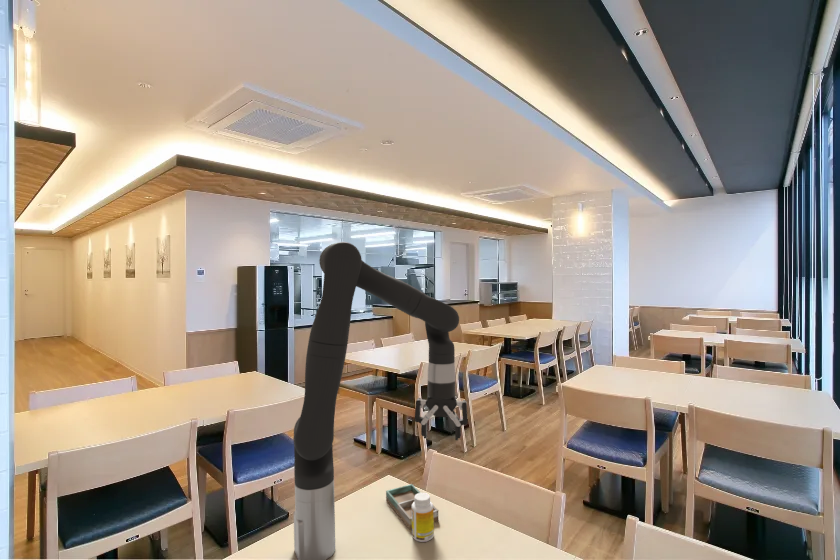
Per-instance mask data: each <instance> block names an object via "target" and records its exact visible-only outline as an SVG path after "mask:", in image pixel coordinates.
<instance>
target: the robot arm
mask: <svg viewBox="0 0 840 560" xmlns="http://www.w3.org/2000/svg"><path fill="white" fill-rule="evenodd" d="M318 262H319V263H318V264H319V267H320V269H321V271H322V273H323V286H322V295H321V299H320V303H319V306H318V309H317V312H316V314H315V316H314V319H313V322H312V325H311V329H310V332H309V338H308V343H307V349H306V350H307V351H306V357H305V370H304V371H305V372H304V397H303V404H302V409H301V412H300V416H299V417H298V419H297V420H296V422H295V424H294V427H293V440H292V441H293V451H294V452H293V454H294V457H293V459H294V460H293V461H294V462H293V464H294V469H293V471H294V473H293V474H294V503H295V504H294V505H295V507H294V509H295V510H294V511H293V534H294V535H293V537H294V538H293V539H294V541H293V542H294V543H293V545H294V546H293V547H294V549H293V550H294V553H295V556H296V559H297V560H328V559H329V558H331V557H332V556H333V554H334V553H335V552H336V514H335V513H336V511H335V469H334V468H335V467H334V466H335V465H334V453H333V450H334V449H333V448H334V447H333V446H334V445H333V442H334V439H335V438H334V437H335V433H334V432H335V413H336V404H337V397H338V392H339V388H340V384H341V380H342V376H343V371H344V367H345V362H346V357H347V349H348V345H349V334H350V327H351V318H352V305H353V300H354V296H355V293H356V288H359V289H361V290H363V291H365V292H367V293H369V294H371V295H373V296H375V297H376V298H379V299H380V300H382V301H383V302H385V303H386V304H388V305H390V306H392V307H393V308H396V309H397V310H399V311H401V312H403V313H404V314H406V315H408V316H410V317H413V318H415V319H418V320H421V321H423V322H424V323H425V324H424V327H425V331H426V338H427V343H428V366H427V397H426V399H422V398H421V397H417V398H416V401H415V405H414V406H415V410H414V422H415V423H419V424H420V429H421V431H420V432H421V433H420V434H421V437H423V439H427V437H428V422H429V420H430V419H431V418H432V416H434V417H435V418H440V417H442V418H448V417H449V418H450V420H452V422H453V423H454V425H455V429H454V431H455V432H454V433H455V437H454V439H455V441H459V439H460V438H461V437H462V436H461V435H462V433H461V432H462V430H461V429H462V426H467V424H468V416H469V415H468V402H467V400H465V399H463V400H460V401H459V400H457V398H456V379H457V378H456V377H457V376H456V366H455V358H456V357H455V351H456V349H455V343H454V342H453V341H452V340H451V338H450V333H449V332H453V331H454V330H456V329H457V328H458V326H459V323H460V316H459V313H458V311H457V310H456V309H455V308H454V307H453V306H451V305H449V304H447V303H446V302H443V301H440V300H438V299H437V298H434V297H431V296H429V295H427V294H426V293H424V292H423V291H421V290H420V289H418V288H416V287H414V286H412V285H410V284H409V283H407V282H405V281H403V280H401V279H398V278H396V277H394V276H391V275H388V274H387V273H384V272H383V271H380V270H378V269H376V268H374V267H373V266H371V265H369V264H367V263H366V262H365V261H363V260H362V255H361V253H360V250H359V249H358V248H357V247H356V246H355V245H354V244H353V243H350V242H347V241H340V242H335V243H332V244H329V245H328V246H327V247H325V248H324V249H323V250H322V251H321V253H320V256H319V260H318ZM424 405H425V406H426V408H427V409H428V411H427V412H426V414H425V415H424V416H421V411H422V409H423V408H424ZM456 407H458V408H459V410H461V412H462V418H459V416H458V414H457V413H456V411H455V409H456Z"/></svg>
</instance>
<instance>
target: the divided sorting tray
mask: <svg viewBox="0 0 840 560" xmlns="http://www.w3.org/2000/svg"><path fill="white" fill-rule="evenodd" d="M415 487H416V486H415V485H414V484H413V483H410V484H407V485H403V486H399V487H395V488H392V489H388V490H385V496H386V497H385V499H386V500H385V501H386V502H387V503H388V505H390V507H391V509H393V511H394V512H395V513H396V514H397V516H398V517H399V518H400V520H402V522H403V523H404V525H406V527H407V528H408V529H409V531H410V530H411V531H412V503H413V502H414V500H415V498H414V497H415V495H416V494H418V493H421V491H420V490H418V488H417V487H416V488H415ZM433 517H434V523H436V522H439V520H440V519H439V510H438V508H437V507H435V506H434V505H433Z"/></svg>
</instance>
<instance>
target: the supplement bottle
mask: <svg viewBox="0 0 840 560" xmlns="http://www.w3.org/2000/svg"><path fill="white" fill-rule="evenodd" d="M414 498H415V500H414V502H413V503H412V529H411V535H412V538H413V539H414V540H415V541H416V542H421V543H426V542H429V541H430V540H432V539H433V537H434V535H435V527H434V525H435V522H434V517H433V506H434V503H433V502H432V501H431V496H430V494H429V493H427V492H420V493H418V494H416V495H415V497H414Z"/></svg>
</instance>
